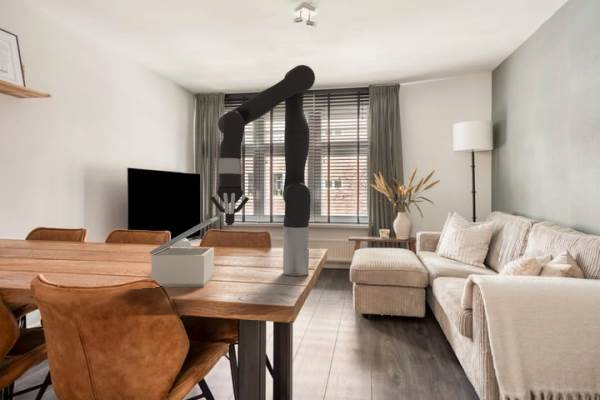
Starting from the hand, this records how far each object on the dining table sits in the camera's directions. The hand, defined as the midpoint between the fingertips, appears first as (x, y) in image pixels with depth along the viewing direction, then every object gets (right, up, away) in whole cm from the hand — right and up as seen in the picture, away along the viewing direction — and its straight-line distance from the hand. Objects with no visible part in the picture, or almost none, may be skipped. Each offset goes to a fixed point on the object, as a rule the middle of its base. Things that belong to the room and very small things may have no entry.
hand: (229, 225), depth 118 cm
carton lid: (-14, -3, -1) cm, 14 cm away
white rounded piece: (-22, -18, +16) cm, 33 cm away
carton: (-15, -18, 0) cm, 24 cm away
